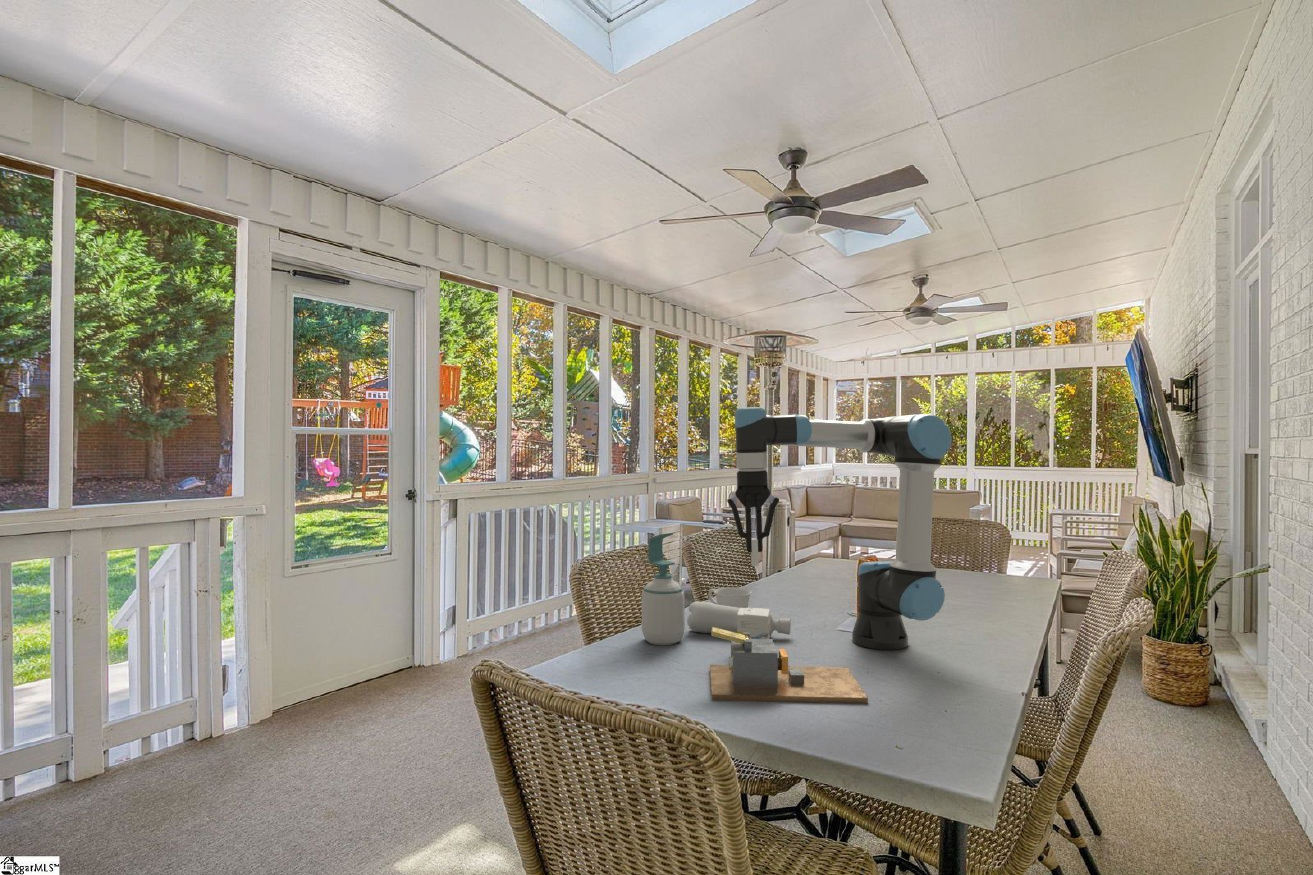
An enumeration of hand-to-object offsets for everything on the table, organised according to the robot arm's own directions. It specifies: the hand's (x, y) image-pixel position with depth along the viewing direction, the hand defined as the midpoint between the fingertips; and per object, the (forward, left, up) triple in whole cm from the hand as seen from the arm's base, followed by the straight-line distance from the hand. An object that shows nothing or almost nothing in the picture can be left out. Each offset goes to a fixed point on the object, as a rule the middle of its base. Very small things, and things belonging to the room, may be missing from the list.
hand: (754, 565), depth 165 cm
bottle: (+2, -34, -27) cm, 43 cm away
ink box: (-1, -16, -27) cm, 31 cm away
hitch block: (-6, +7, -27) cm, 28 cm away
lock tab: (+7, +7, -16) cm, 19 cm away
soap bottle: (+24, -27, -27) cm, 45 cm away
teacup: (+4, -49, -27) cm, 56 cm away
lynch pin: (0, +7, -23) cm, 25 cm away
